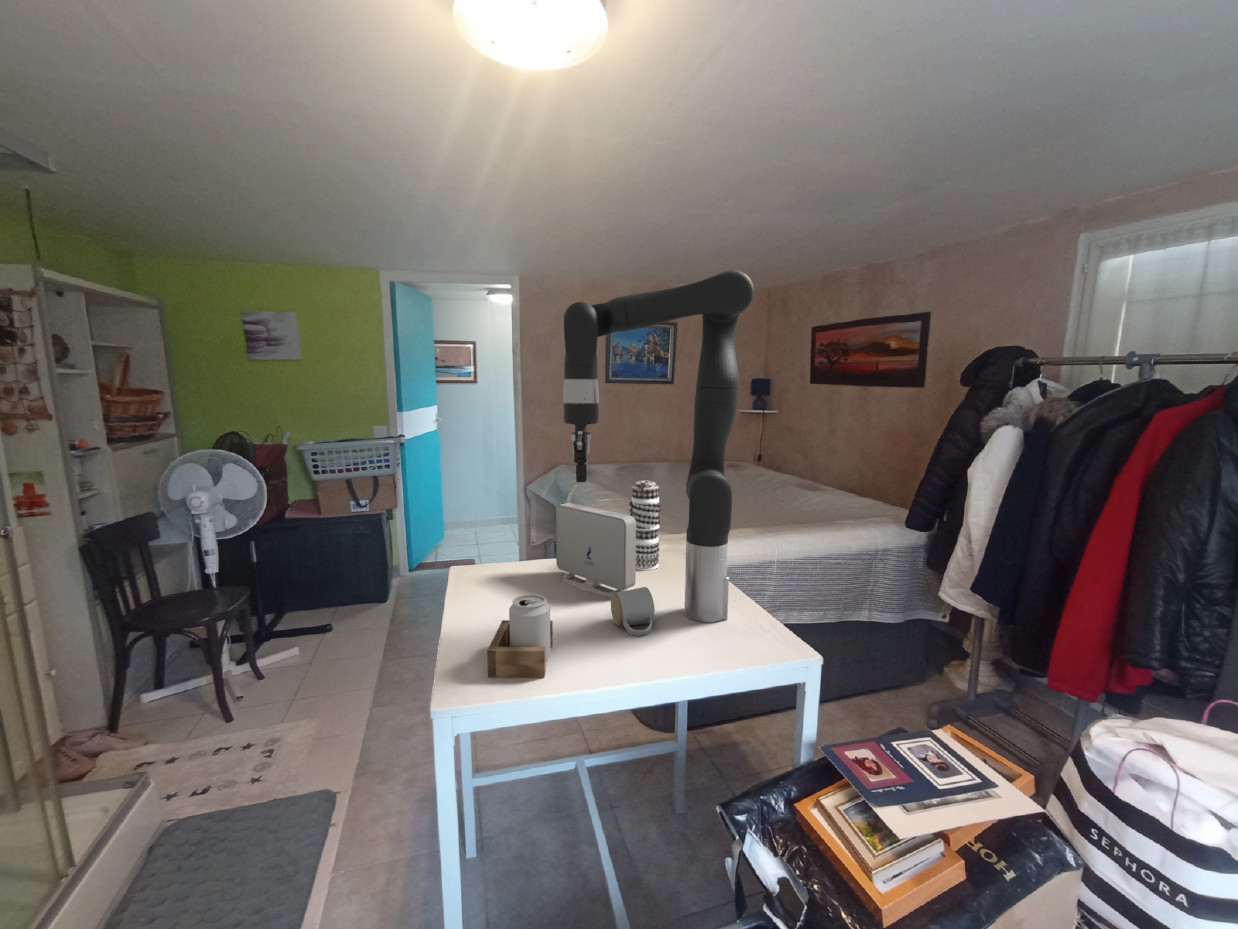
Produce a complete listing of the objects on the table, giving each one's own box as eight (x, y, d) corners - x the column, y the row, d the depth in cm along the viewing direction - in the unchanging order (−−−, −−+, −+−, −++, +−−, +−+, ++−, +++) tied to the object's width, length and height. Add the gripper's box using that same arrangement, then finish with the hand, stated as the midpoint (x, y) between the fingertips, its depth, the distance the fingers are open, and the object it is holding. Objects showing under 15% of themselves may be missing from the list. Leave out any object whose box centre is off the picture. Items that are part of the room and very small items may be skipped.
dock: (552, 644, 105) (552, 620, 104) (544, 677, 93) (544, 651, 92) (502, 644, 105) (502, 620, 104) (487, 677, 92) (487, 650, 92)
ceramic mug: (608, 618, 117) (609, 586, 116) (642, 613, 120) (643, 581, 119) (624, 640, 107) (625, 605, 106) (661, 634, 110) (662, 600, 109)
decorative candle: (634, 572, 148) (635, 485, 144) (624, 562, 157) (625, 479, 153) (664, 569, 150) (666, 483, 147) (653, 559, 159) (655, 478, 156)
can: (510, 652, 102) (509, 592, 100) (549, 649, 103) (549, 590, 101) (509, 672, 94) (508, 608, 93) (551, 668, 96) (550, 606, 94)
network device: (550, 576, 144) (549, 505, 141) (573, 569, 150) (573, 500, 148) (619, 601, 127) (619, 521, 124) (642, 592, 133) (643, 515, 131)
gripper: (597, 401, 105) (597, 487, 107) (599, 400, 118) (599, 477, 120) (560, 401, 104) (561, 487, 107) (566, 400, 118) (566, 476, 120)
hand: (581, 481), depth 113 cm, fingers closed
